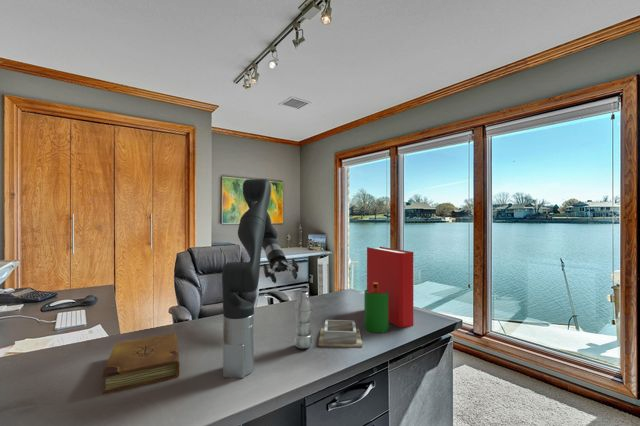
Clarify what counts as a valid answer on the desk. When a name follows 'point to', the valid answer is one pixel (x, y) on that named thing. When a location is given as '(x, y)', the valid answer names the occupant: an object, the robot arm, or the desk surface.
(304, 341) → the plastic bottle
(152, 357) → the diary
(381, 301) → the motor
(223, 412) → the desk surface
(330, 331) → the mounting cradle
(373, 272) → the book
